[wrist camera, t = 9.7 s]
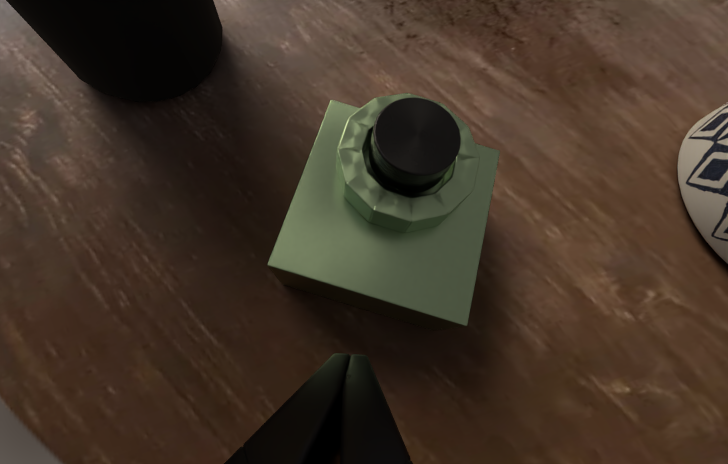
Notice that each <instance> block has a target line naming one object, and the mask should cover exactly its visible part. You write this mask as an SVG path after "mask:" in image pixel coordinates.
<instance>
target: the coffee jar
mask: <svg viewBox="0 0 728 464" xmlns="http://www.w3.org/2000/svg"><path fill="white" fill-rule="evenodd" d="M6 1H7V2H8V3H9V4H10V5H11V6H12V7H13V8H14V9H15V10H16V11H17V12H18V13H19V14H20V16H21V17H22V18H23V19H24V20H25V21H26V22H27V23H28V24H29V25H30V26H31V27H32V28H33V29H34V30H35V31H36V33H37V34H38V35H39V36H40V37H41V38H42V39H43V40H44V41H45V42H46V43H47V44H48V45H49V46H50V47H51V49H52V50H53V51H54V52H55V53H56V54H57V55H58V56H59V57H60V58H61V59H62V60H63V61H64V62H65V63H66V64H67V66H68V67H69V68H70V69H71V70H72V71H73V72H74V73H75V74H76V75H77V76H78V77H79V78H80V79H81V80H83V81H84V82H86V83H87V84H89V85H91V86H92V87H94V88H95V89H97V90H99V91H100V92H103V93H105V94H108V95H112V96H116V97H120V98H124V99H128V100H133V101H161V100H165V99H169V98H172V97H176V96H180V95H181V94H183V93H185V92H187V91H189V90H190V89H192V88H194V87H196V86H197V85H198V84H199V83H200V82H201V81H202V80H203V79H204V78H205V77H206V76H207V75H208V74H209V73H210V72H211V70H212V67H213V65H214V63H215V61H216V59H217V57H218V55H219V53H220V50H221V43H222V25H221V22H220V19H219V16H218V13H217V10H216V7H215V4H214V1H213V0H6Z"/></svg>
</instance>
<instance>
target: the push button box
mask: <svg viewBox="0 0 728 464" xmlns="http://www.w3.org/2000/svg"><path fill="white" fill-rule="evenodd" d="M410 97H417V98H423V97H420V96H417V95H413V94H408V93H404V94H397V95H390V96H384V97H377V98H374V99H372V100H371V101H370V102H368V103H367V104H366V105H364V106H363V107H362V108H357V107H354V106H351V105H347V104H344V103H341V102H338V101H334V100H331V101H330V103H329V106H328V108H327V111H326V113H325V116H324V119H323V121H322V124H321V126H320V129H319V132H318V134H317V137H316V139H315V142H314V144H313V147H312V150H311V152H310V155H309V157H308V160H307V163H306V165H305V168H304V170H303V173H302V176H301V178H300V181H299V183H298V186H297V189H296V191H295V194H294V196H293V199H292V201H291V204H290V207H289V209H288V212H287V214H286V217H285V220H284V222H283V225H282V227H281V230H280V233H279V235H278V238H277V240H276V243H275V246H274V248H273V251H272V253H271V256H270V258H269V261H268V264H267V266H268V267H269V268H270V269H271V271H272V272H273V273H274V274H275V276H276V277H277V278H278V280H279V281H280V282H281V283H282V284H283V285H286V286H289V287H292V288H295V289H299V290H302V291H305V292H309V293H312V294H315V295H318V296H322V297H325V298H328V299H332V300H335V301H338V302H341V303H345V304H348V305H351V306H355V307H358V308H361V309H364V310H368V311H371V312H374V313H378V314H381V315H384V316H387V317H391V318H394V319H397V320H401V321H404V322H407V323H410V324H414V325H417V326H420V327H424V328H427V329H430V330H433V331H434V330H441V329H449V328H456V327H463V326H467V324H468V319H469V314H470V308H471V303H472V298H473V292H474V287H475V282H476V276H477V271H478V266H479V260H480V255H481V250H482V244H483V239H484V234H485V229H486V223H487V218H488V213H489V207H490V202H491V197H492V191H493V186H494V181H495V175H496V170H497V165H498V159H499V154H500V151H499V150H495V149H492V148H489V147H486V146H482V145H479V144H476V143H474V140H473V137H472V135H471V132H470V129H469V127H468V126H467V125H466V124H465V123H464V122H463V121H462V120H461V119H459V118H458V117H457V116H456V115H455V114H454V113H453V112H452V111H451V110H449V109H448V108H447V107H446V106H445V105H444V104H442V103H440V102H436V101H433V100H430V99H427V100H430V101H433V102H435V103H437V104H439V105H440V106H442V107H443V108H444V109H446V110H447V111H448V112H449V113H450V114H451V116H452V117H453V118H454V120H455V121H456V123H457V125H458V128H459V131H460V137H461V145H460V150H459V153H458V155H457V157H456V159H455V160H454V162H453V163H452V165H451V166H450V168H449V169H448V171H447V172H446V174H445V175H444V177H443V178H442V179H441V181H440V182H439V183H438V184H437V185H435V186H434V187H433V188H431V189H429V190H426V191H423V192H419V193H404V192H399V191H396V190H394V189H392V188H390V187H388V186H387V185H385V184H384V183H383V182H381V181H380V180H379V178H378V177H377V176H376V175H375V173H374V172H373V170H372V168H371V165H370V161H369V147H370V142H371V137H372V132H373V127H374V123H375V120H376V118H377V116H378V114H379V113H380V112H381V111H382V110H383V109H384V108H385V107H386V106H387V105H389V104H390V103H392V102H394V101H396V100H399V99H403V98H410ZM423 99H426V98H423Z"/></svg>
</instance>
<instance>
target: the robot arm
mask: <svg viewBox="0 0 728 464" xmlns="http://www.w3.org/2000/svg"><path fill="white" fill-rule="evenodd" d="M224 464H413V463H412V461H410V456H409V454H408V451H407V449H406V447H405V444H404V442H403V440H402V437H401V435H400V432H399V430H398V428H397V425H396V423H395V420H394V418H393V416H392V413H391V411H390V409H389V406H388V404H387V401H386V399H385V397H384V394H383V392H382V390H381V387H380V385H379V382H378V380H377V378H376V375H375V373H374V371H373V368H372V366H371V363H370V361H369V359H368V357H367V356H366V355H358V354H353V355H351V356H350V355H349V354H340V353H335V354H333V355H332V356H331V357H330V358H329V359H328V360H327V361H326V362H325V363H324V364H323V365H322V366H321V367H320V368H319V369H318V370H317V371H316V372H315V373H314V374H313V375H312V376H311V377H310V378H309V379H308V380H307V381H306V382H305V383H304V384H303V385H302V386H301V387H300V388H299V389H298V390H297V391H296V392H295V393H294V394H293V395H292V396H291V397H290V398H289V399H288V400H287V401H286V402H285V403H284V404H283V405H282V406H281V407H280V408H279V409H278V410H277V411H276V412H275V413H274V414H273V415H272V416H271V417H270V418H269V419H268V420H267V421H266V422H265V423H264V424H263V425H262V426H261V427H260V428H259V429H258V430H257V431H256V432H255V433H254V434H253V435H252V436H251V437H250V438H249V439H248V440H247V441H246V442H245V443H244V445H243V447H240V448H239V449H238V450H237V451H236V452H235V453H234V454H233V455H232V456H231V457H230V458H229V459H228V460H227V461H226V462H225V463H224Z"/></svg>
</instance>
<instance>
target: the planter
mask: <svg viewBox="0 0 728 464" xmlns="http://www.w3.org/2000/svg"><path fill="white" fill-rule="evenodd" d="M677 167H678V182H679V186H680V191H681V195H682V198H683V201H684V203H685V206H686V209H687V211H688V213H689V215H690V217H691V219H692V221H693V223H694V224H695V226H696V228H697V229H698V231H699V232H700V233H701V235H702V236H703V238H704V239H705V241H706V242H707V243H708V244H709V245H710V246H711V248H712V249H713V250H714V251H715V252H716V253H717V254H718V255H719V256H720V257H721V258H722V259H723V260H724V261H725V262H726V263H727V264H728V103H726V104H725V105H723V106H721V107H720V108H718V109H717V110H715V111H713V112H712V113H710V114H709V115H707V116H705V117H704V118H702V119H701V120H699V121H698V122H697V123H696V124H695V125H694V126H693V127H692V128H691V129H690V130H689V132H688V133H687V135H686V137H685V139H684V140H683V143H682V146H681V149H680V152H679V157H678V166H677Z"/></svg>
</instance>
